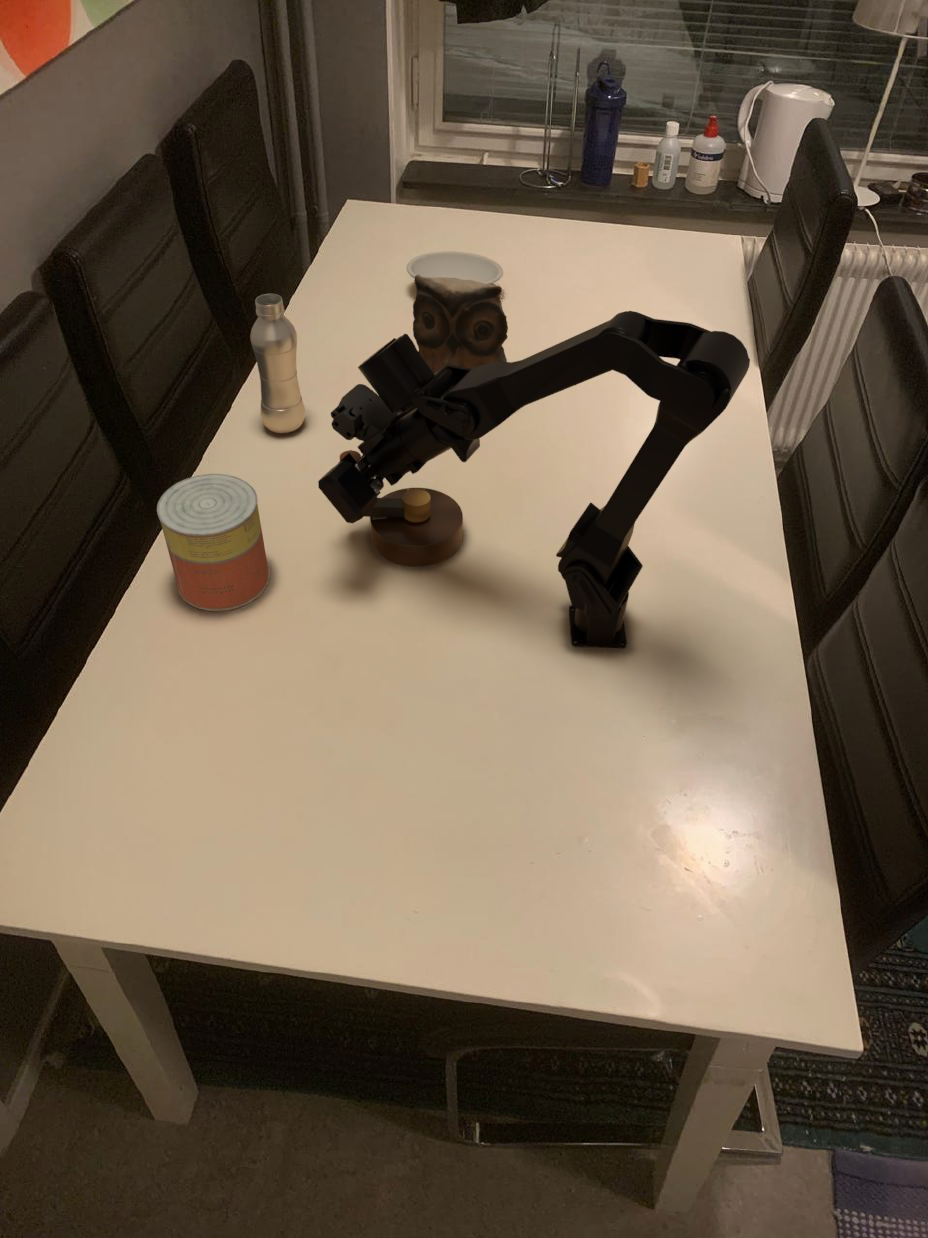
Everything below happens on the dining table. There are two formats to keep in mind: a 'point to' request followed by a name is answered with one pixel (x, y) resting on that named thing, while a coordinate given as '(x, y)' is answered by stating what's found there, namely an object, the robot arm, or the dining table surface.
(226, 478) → the canned food
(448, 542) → the crank base
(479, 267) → the dish
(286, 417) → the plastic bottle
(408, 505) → the crank handle
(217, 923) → the dining table surface
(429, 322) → the owl
